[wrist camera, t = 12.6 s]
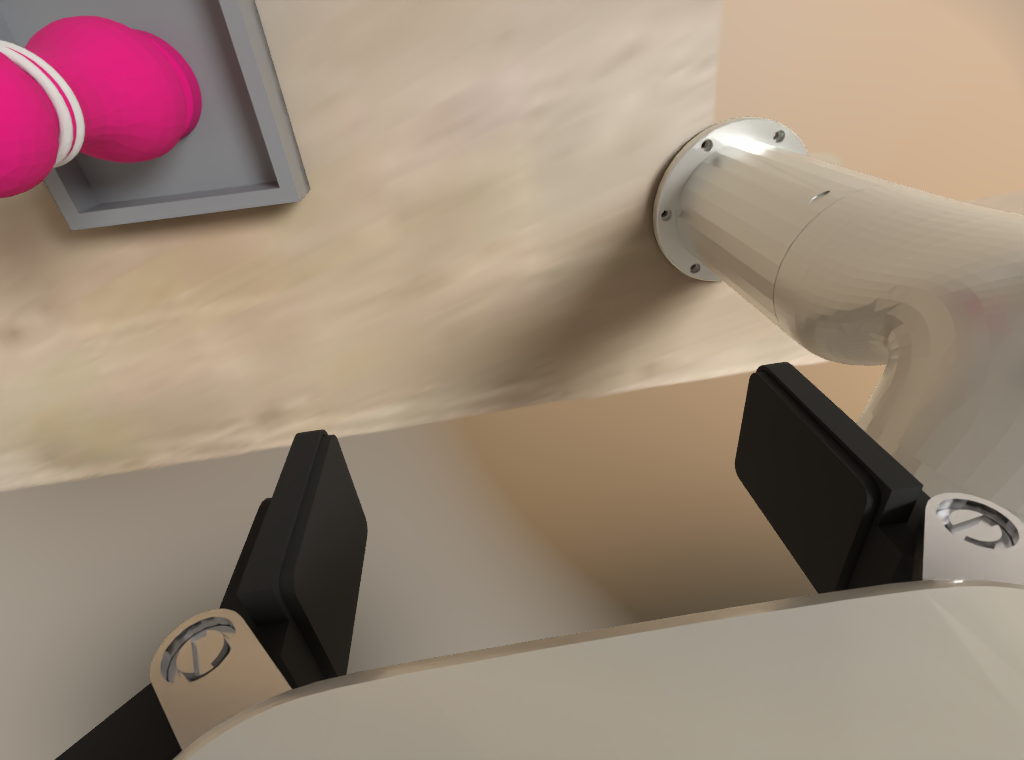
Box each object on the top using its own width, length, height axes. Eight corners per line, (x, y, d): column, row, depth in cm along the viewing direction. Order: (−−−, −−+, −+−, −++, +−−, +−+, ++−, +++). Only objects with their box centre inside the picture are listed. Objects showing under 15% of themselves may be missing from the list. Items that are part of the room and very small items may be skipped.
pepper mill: (231, 137, 35) (42, 222, 19) (125, 159, 35) (-161, 263, 19) (175, 7, 31) (-127, -36, 15) (56, 31, 31) (-386, 16, 15)
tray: (231, -79, 30) (209, -93, 27) (310, 189, 39) (299, 201, 36) (-39, -51, 30) (-91, -62, 27) (100, 216, 38) (71, 230, 35)
